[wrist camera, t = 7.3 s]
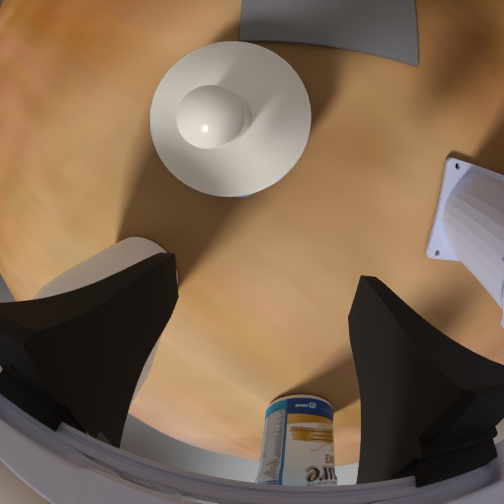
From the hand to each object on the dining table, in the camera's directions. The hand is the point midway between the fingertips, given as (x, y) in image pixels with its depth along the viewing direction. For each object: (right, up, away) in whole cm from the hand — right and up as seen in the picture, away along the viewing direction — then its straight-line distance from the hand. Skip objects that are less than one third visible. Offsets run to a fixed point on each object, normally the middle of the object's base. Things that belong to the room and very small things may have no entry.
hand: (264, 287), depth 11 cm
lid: (-2, +9, +4) cm, 10 cm away
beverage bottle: (+5, -18, +19) cm, 27 cm away
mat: (+5, +20, 0) cm, 20 cm away
